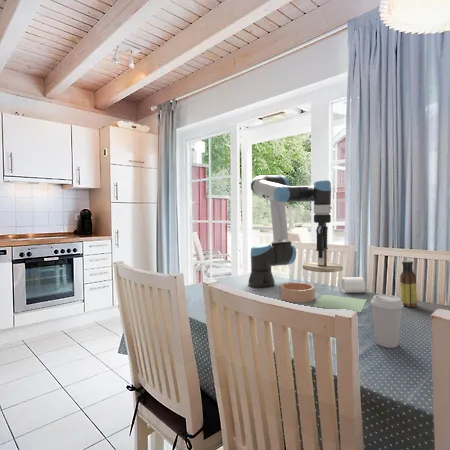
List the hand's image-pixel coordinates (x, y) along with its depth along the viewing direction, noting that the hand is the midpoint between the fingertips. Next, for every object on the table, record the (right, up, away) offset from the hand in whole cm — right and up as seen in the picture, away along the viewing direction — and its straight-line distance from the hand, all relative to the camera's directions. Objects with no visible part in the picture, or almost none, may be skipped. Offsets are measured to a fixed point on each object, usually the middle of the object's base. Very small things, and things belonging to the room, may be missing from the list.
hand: (322, 263), depth 149 cm
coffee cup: (+7, -20, -46) cm, 51 cm away
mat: (+7, -18, -4) cm, 20 cm away
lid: (0, -2, 0) cm, 2 cm away
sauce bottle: (+36, -18, -8) cm, 41 cm away
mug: (+20, -17, +17) cm, 31 cm away
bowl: (-10, -18, +6) cm, 21 cm away
